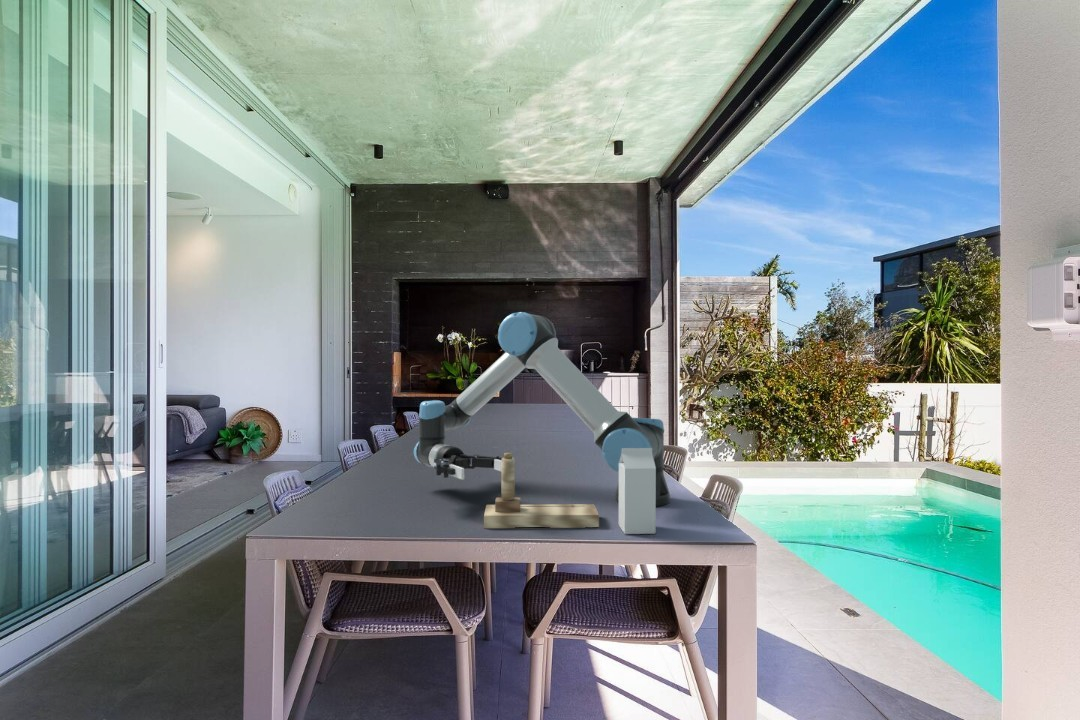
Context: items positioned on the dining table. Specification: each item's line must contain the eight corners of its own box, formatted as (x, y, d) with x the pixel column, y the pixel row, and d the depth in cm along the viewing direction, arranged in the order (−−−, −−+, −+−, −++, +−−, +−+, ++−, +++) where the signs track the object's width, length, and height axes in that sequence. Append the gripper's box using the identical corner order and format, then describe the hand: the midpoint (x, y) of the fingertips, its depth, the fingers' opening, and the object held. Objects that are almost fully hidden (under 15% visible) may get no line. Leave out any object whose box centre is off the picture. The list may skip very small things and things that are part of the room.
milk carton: (655, 534, 134) (656, 450, 134) (624, 535, 133) (624, 450, 133) (647, 525, 141) (648, 445, 141) (618, 525, 140) (618, 446, 140)
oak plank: (593, 516, 149) (593, 503, 149) (598, 527, 139) (599, 514, 139) (486, 516, 148) (486, 504, 148) (483, 528, 138) (483, 515, 138)
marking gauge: (520, 507, 145) (520, 452, 145) (520, 511, 141) (520, 454, 141) (495, 507, 145) (496, 452, 145) (495, 512, 141) (495, 454, 141)
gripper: (484, 467, 175) (526, 479, 158) (406, 477, 161) (442, 492, 144) (485, 441, 175) (526, 451, 158) (406, 449, 160) (442, 461, 143)
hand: (486, 470), depth 151 cm, fingers open, 13 cm apart
